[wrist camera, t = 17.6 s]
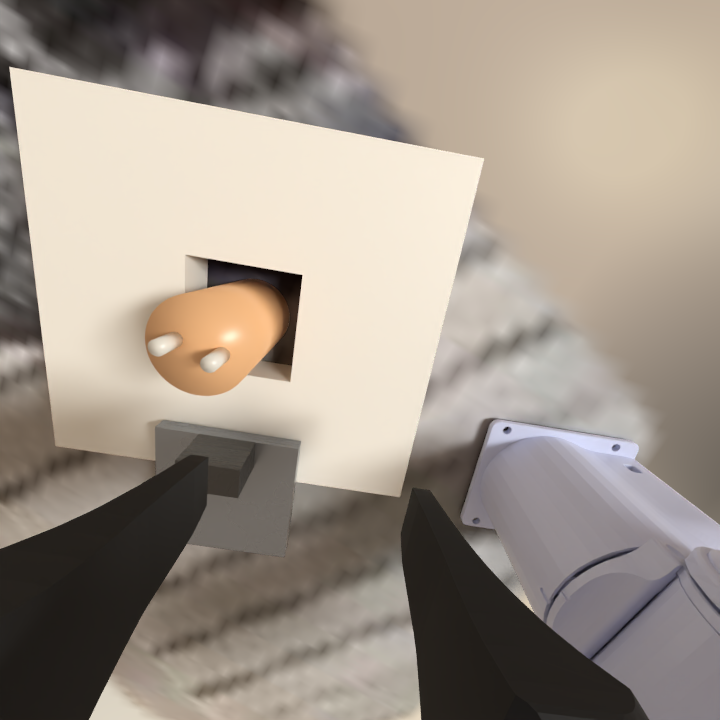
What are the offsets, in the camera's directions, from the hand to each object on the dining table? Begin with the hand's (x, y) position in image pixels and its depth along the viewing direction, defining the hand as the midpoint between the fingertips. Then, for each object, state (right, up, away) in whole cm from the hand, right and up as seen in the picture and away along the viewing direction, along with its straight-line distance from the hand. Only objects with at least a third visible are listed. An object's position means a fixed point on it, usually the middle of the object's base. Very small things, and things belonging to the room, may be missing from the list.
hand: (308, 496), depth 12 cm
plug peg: (-4, +7, +8) cm, 11 cm away
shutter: (-6, -3, +8) cm, 10 cm away
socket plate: (-4, +7, +8) cm, 11 cm away
